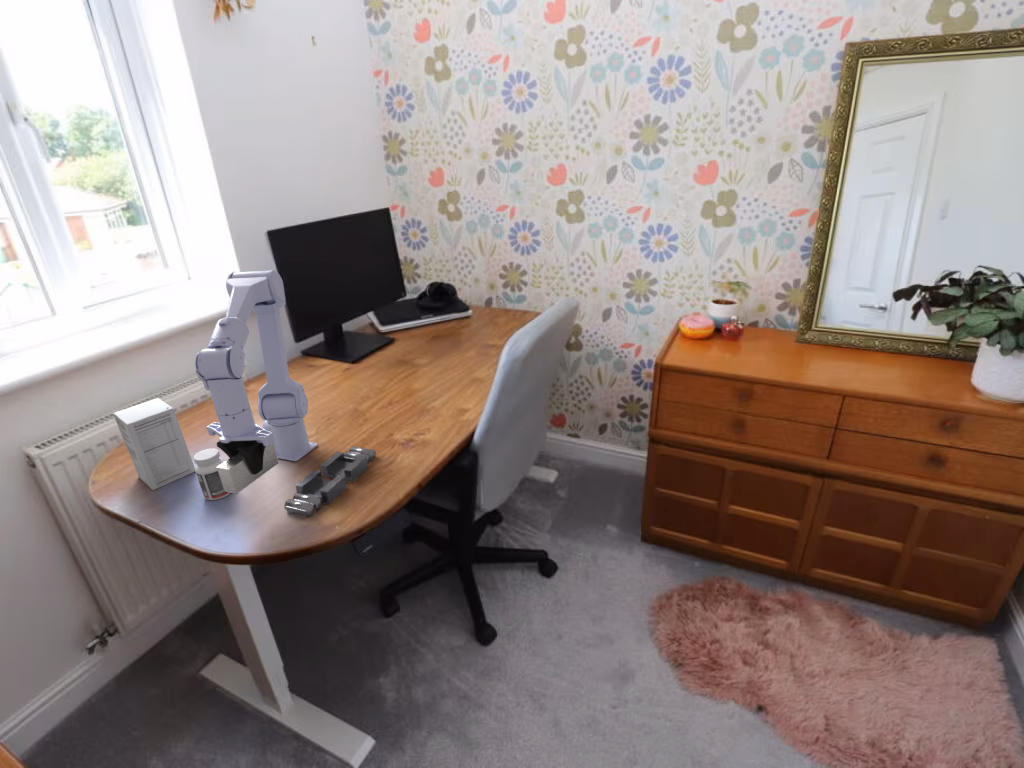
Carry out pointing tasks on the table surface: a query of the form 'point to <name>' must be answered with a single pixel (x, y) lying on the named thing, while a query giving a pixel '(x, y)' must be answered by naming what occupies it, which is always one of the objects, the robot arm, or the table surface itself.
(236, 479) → the pale grey rectangular prism
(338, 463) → the chain end
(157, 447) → the supplement box
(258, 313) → the robot arm
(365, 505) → the table surface
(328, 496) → the chain end
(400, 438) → the table surface
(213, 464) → the pill bottle
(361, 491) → the table surface
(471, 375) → the table surface
